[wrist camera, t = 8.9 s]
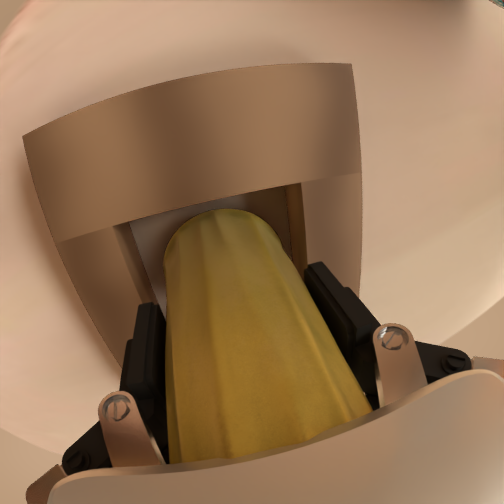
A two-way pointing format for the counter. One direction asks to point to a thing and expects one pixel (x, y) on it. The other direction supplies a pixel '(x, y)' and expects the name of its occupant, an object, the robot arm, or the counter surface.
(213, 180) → the vase stand
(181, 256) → the vase
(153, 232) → the counter surface
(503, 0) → the chinaware
